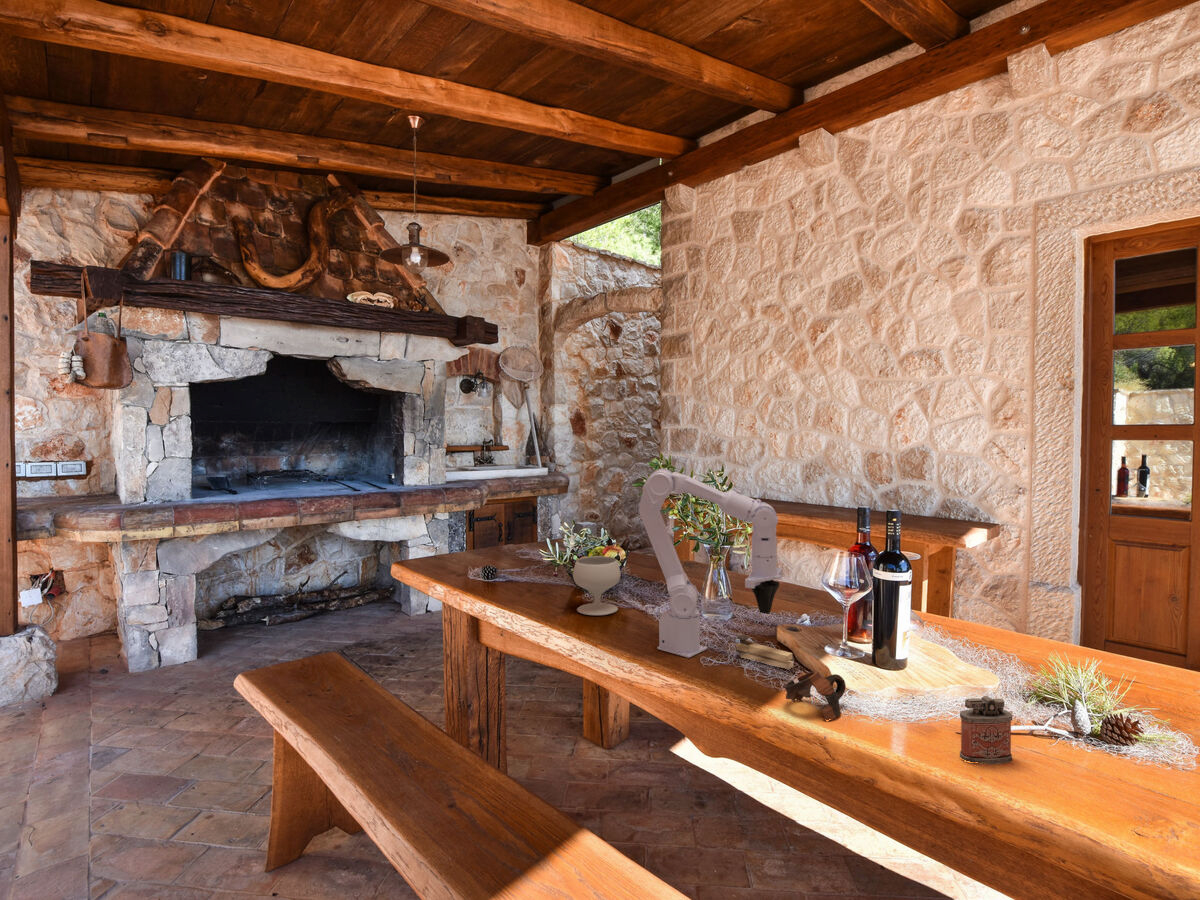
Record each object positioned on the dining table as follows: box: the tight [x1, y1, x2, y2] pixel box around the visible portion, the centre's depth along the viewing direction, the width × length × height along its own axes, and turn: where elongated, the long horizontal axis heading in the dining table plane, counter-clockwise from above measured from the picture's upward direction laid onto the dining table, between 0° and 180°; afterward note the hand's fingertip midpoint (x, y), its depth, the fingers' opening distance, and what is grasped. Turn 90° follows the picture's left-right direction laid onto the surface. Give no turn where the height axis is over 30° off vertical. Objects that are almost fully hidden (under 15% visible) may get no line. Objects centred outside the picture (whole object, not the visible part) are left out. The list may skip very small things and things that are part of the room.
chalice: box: [572, 555, 621, 616], centre depth 191 cm, size 14×14×15 cm
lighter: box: [959, 695, 1013, 765], centre depth 105 cm, size 8×3×10 cm, turn 92°
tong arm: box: [736, 639, 793, 662], centre depth 147 cm, size 12×4×1 cm, turn 44°
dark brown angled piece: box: [783, 670, 846, 721], centre depth 124 cm, size 12×10×8 cm
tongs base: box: [735, 634, 795, 671], centre depth 148 cm, size 14×3×5 cm, turn 47°
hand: (764, 612), depth 153 cm, fingers closed
